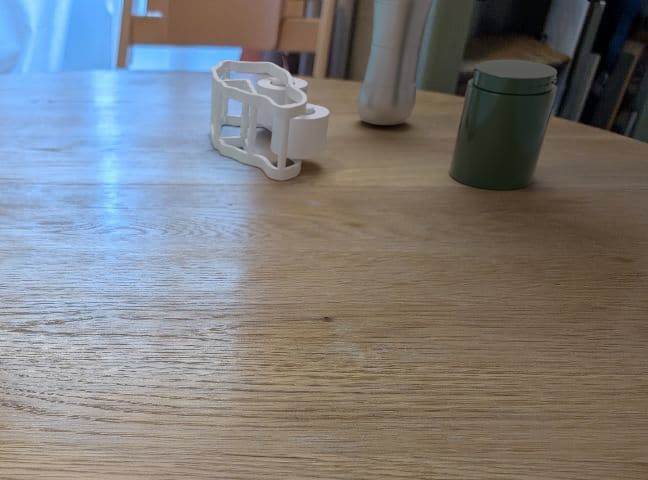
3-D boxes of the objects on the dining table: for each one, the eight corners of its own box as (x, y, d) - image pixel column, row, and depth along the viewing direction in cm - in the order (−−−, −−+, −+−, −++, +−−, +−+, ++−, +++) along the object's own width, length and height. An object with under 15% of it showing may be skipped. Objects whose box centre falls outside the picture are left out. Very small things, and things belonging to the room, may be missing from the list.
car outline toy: (331, 179, 87) (341, 106, 83) (224, 182, 87) (228, 109, 83) (294, 120, 104) (301, 57, 99) (204, 123, 104) (206, 60, 99)
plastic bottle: (343, 119, 104) (368, -68, 92) (392, 112, 105) (422, -72, 94) (372, 134, 99) (402, -61, 87) (423, 127, 100) (459, -65, 89)
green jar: (531, 166, 89) (559, 61, 83) (534, 193, 83) (564, 82, 76) (450, 159, 91) (472, 56, 85) (447, 185, 85) (470, 76, 79)
